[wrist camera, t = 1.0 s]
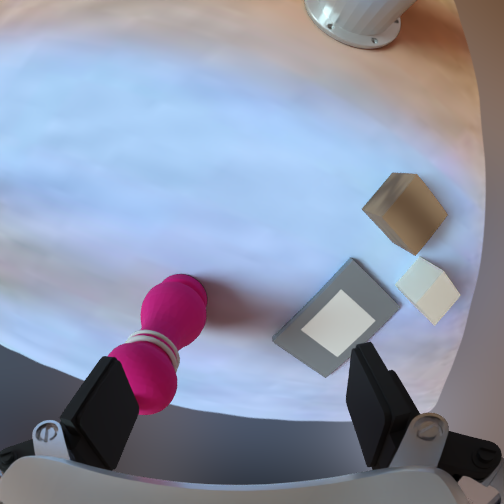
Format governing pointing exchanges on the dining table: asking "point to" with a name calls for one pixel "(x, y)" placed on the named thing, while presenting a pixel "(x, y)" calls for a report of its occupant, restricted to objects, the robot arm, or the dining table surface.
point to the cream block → (428, 289)
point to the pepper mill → (162, 340)
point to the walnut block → (406, 211)
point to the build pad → (337, 320)
